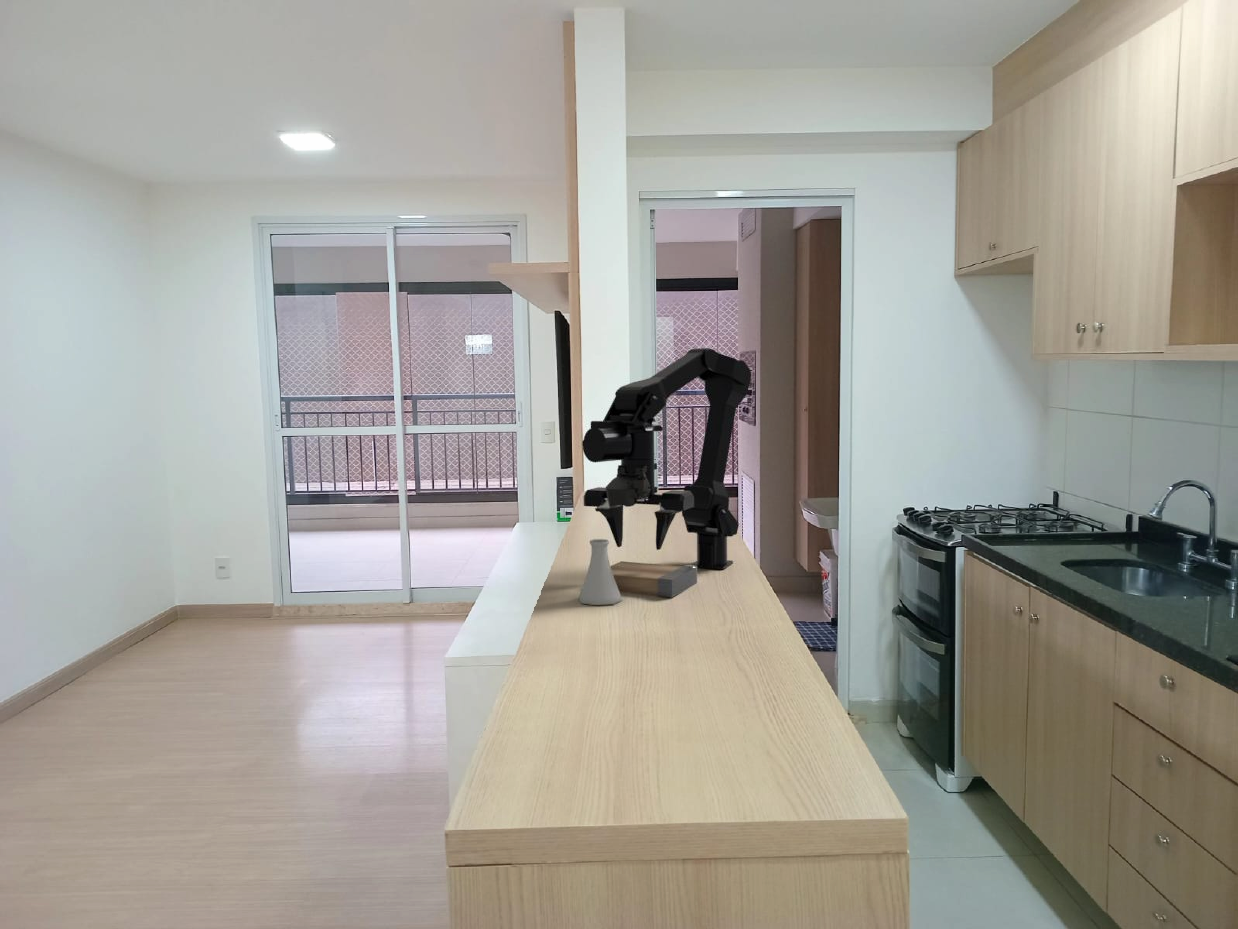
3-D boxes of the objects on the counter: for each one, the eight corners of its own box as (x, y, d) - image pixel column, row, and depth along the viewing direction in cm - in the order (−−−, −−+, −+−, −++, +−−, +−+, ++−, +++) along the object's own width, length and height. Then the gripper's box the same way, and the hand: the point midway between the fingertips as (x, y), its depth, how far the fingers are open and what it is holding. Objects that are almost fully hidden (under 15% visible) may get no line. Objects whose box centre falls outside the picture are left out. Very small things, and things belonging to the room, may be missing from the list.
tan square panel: (621, 577, 157) (621, 561, 157) (682, 583, 152) (682, 566, 151) (594, 590, 147) (593, 573, 147) (658, 596, 142) (658, 579, 142)
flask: (618, 607, 136) (617, 544, 135) (574, 606, 137) (572, 544, 136) (625, 596, 143) (624, 537, 142) (582, 595, 144) (581, 536, 143)
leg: (686, 581, 152) (686, 564, 152) (699, 582, 151) (699, 565, 151) (658, 596, 141) (657, 578, 141) (672, 597, 140) (671, 579, 140)
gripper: (567, 461, 144) (569, 552, 145) (670, 463, 136) (671, 560, 138) (597, 456, 154) (598, 541, 156) (694, 458, 146) (695, 548, 148)
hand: (638, 548), depth 149 cm, fingers open, 7 cm apart
